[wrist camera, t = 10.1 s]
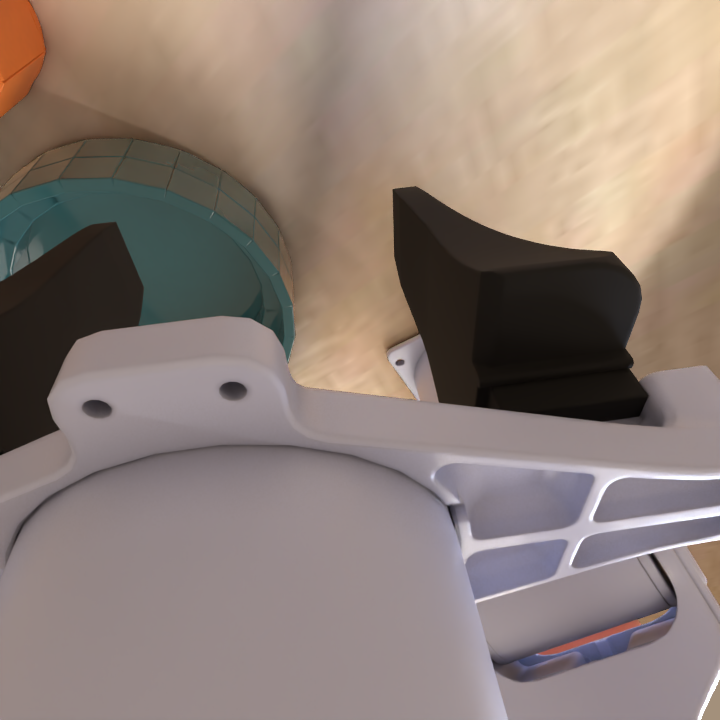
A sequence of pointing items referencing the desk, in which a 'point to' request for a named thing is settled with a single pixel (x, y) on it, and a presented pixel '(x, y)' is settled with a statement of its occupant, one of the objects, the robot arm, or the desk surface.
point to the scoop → (18, 51)
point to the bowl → (157, 229)
